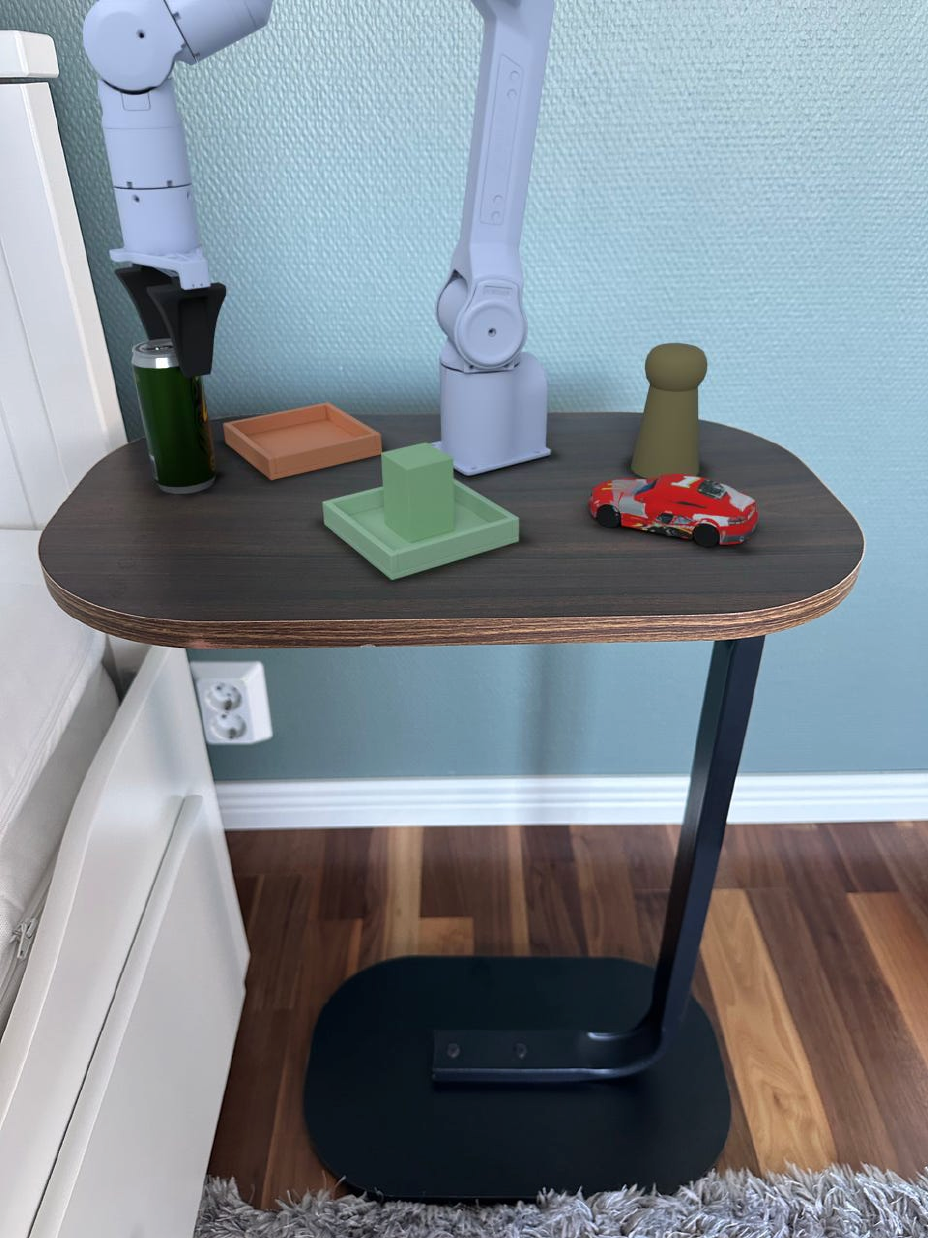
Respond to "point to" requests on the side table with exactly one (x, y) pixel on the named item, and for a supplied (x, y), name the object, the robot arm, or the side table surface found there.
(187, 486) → the beer can
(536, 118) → the robot arm
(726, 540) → the race car
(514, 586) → the side table surface
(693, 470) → the olive pawn piece
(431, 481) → the sage block
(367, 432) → the terracotta tray
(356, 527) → the sage tray
